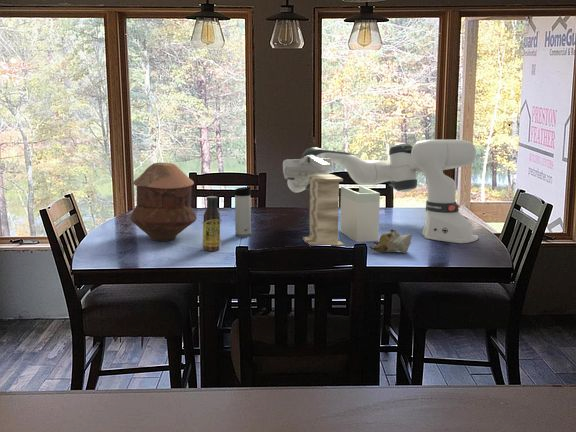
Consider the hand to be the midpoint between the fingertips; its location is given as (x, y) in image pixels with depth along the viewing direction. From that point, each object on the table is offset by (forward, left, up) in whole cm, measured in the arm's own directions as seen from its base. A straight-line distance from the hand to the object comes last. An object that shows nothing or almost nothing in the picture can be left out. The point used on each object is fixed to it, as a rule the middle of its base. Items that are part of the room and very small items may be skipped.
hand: (311, 157), depth 259 cm
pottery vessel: (+36, +47, -32) cm, 67 cm away
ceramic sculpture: (-39, -1, -32) cm, 51 cm away
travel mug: (+18, +21, -32) cm, 42 cm away
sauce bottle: (+8, +45, -32) cm, 55 cm away
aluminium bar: (-7, +4, -2) cm, 8 cm away
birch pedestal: (-14, +8, -32) cm, 35 cm away
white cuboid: (-15, -13, -32) cm, 37 cm away
